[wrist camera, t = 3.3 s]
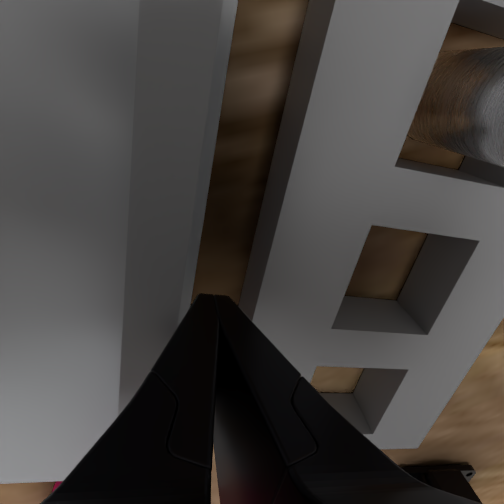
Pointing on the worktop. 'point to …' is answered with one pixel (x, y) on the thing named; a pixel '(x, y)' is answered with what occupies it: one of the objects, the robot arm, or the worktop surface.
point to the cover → (97, 207)
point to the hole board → (376, 218)
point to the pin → (464, 105)
